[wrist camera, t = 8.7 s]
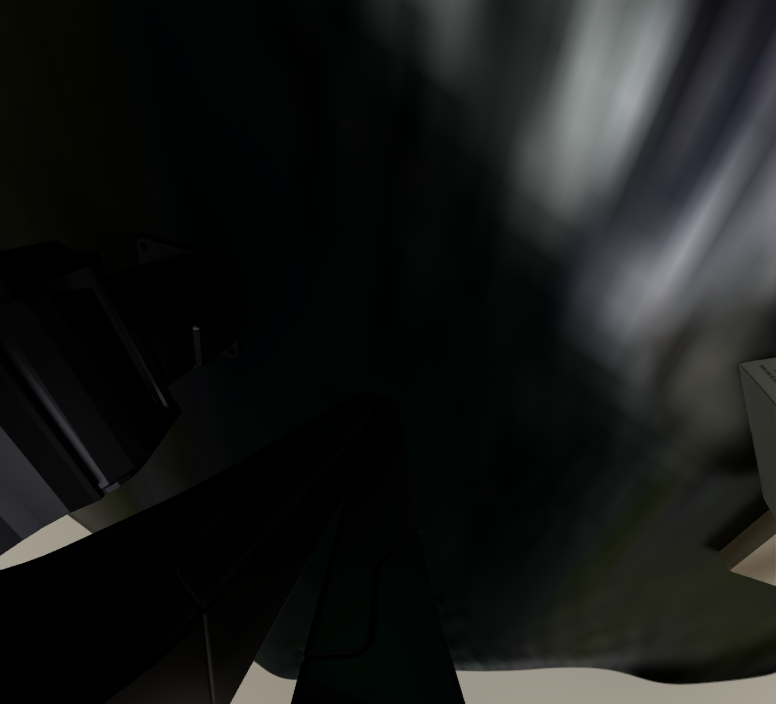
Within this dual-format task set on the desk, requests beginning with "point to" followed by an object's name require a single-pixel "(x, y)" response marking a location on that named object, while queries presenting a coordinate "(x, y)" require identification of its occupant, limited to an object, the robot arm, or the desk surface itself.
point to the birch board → (754, 550)
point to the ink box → (762, 421)
